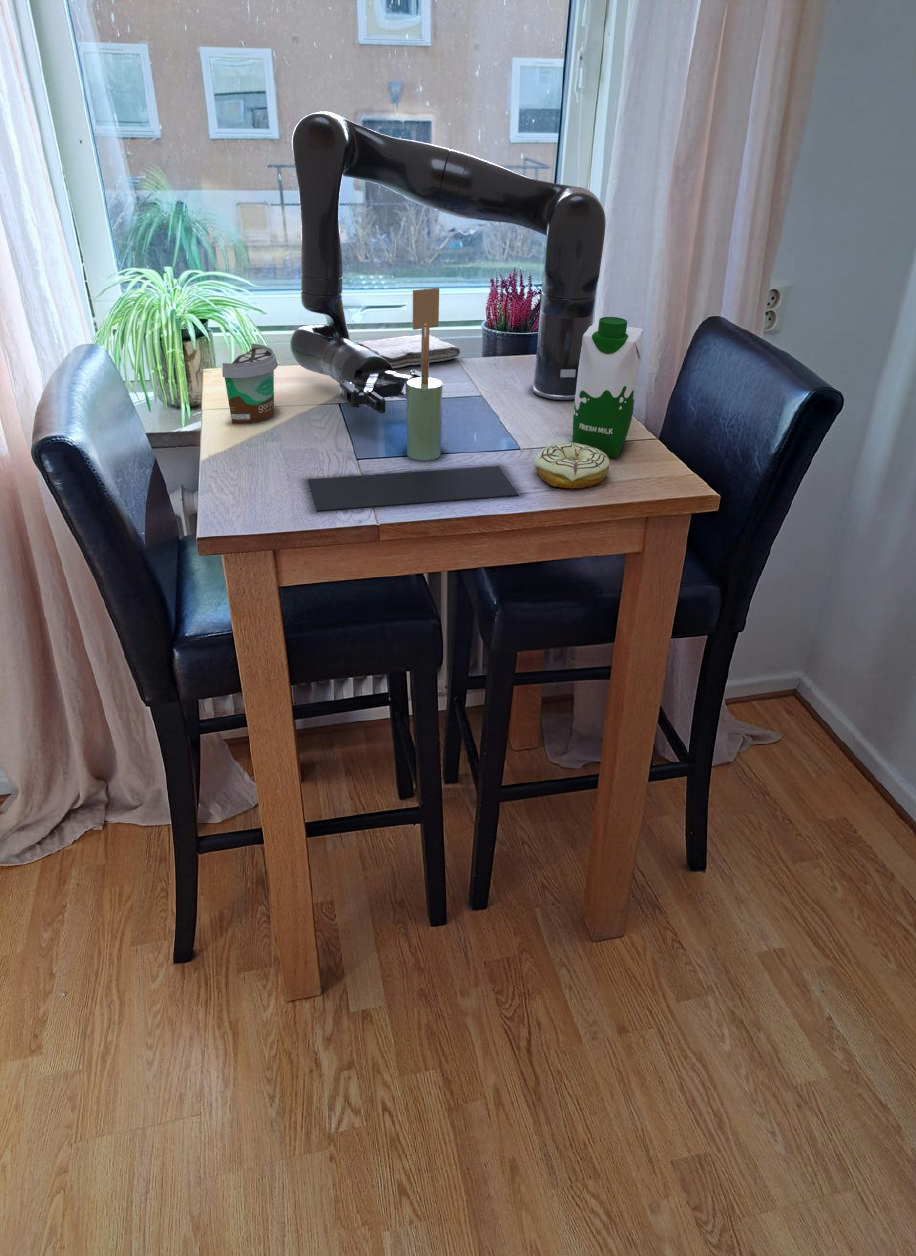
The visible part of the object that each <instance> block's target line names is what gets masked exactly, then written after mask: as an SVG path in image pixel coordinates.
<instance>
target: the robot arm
mask: <svg viewBox="0 0 916 1256" xmlns="http://www.w3.org/2000/svg"><path fill="white" fill-rule="evenodd" d="M291 148H292V155H293V162H294V167H295V168H294V169H295V175H296V181H297V187H298V198H299V205H300V206H299V207H300V224H301V226H300V227H301V229H300V230H301V231H300V233H301V242H300V243H301V246H300V247H301V248H300V249H301V253H300V255H301V256H300V301H301V305H302V307H303V308H304V309H305V310H306V311H308V312H310V313H315V314H319V315H324V317H325V319H326V324H313V325H310V324H309V325H302V326H300V327H298V328H296V329H295V330H294V332H293V333H292V335H291V337H290V341H289V343H290V344H289V346H290V347H289V348H290V352H291V356H292V357H293V359H294V361H295V362H296V364H298V365H299V366H300V367H301V368H303V369H305V370H308V371H311V372H313V373H317V374H320V375H324V376H329V377H330V378H331V379H333V380H334V381H336V382H337V383H338V384H339V397H340V399H342V400H343V401H345V403H347V404H348V405H349V406H350V407H351V408H355V409H356V408H359V407H360V405H363V407H365V408H371V409H372V410H373V411H375V412H377V413H379V414H385V413H386V411H387V409H386V399H385V398H388V399H389V398H390V399H394V398H398V399H403V400H404V399H405V400H407V381H408V380H410V379H413V378H418V377H421V371H419V370H417V369H411V370H409V374H402V373H398V372H397V371H395V370H394V368H392V366H391V365H390V363H389V362H388V361H387V360H386V359H384V358H383V357H381V356H379V355H378V354H376V353H374V352H372V351H371V350H369V349H367V348H366V347H363V346H360V345H358V344H357V343H356V342H354V341H353V340H351V336H350V332H349V329H348V324H347V321H346V316H345V310H344V309H345V308H344V304H343V281H344V277H343V275H344V263H343V250H342V242H341V232H340V231H341V230H340V195H341V188H342V181H343V178H349V179H353V180H359V181H363V182H368V183H372V184H376V185H379V186H382V187H384V188H386V189H388V190H390V191H392V192H394V193H396V194H397V195H399V196H401V197H403V198H406V199H407V200H410V201H411V202H413V203H416V204H418V205H420V206H423V207H425V208H428V209H430V210H433V211H437V212H439V213H443V214H446V215H450V216H453V217H457V218H461V219H467V220H473V221H480V222H481V221H482V222H495V223H506V224H513V225H517V226H520V227H524V228H526V229H529V230H532V231H534V232H537V233H539V234H541V235H544V236H546V243H545V244H546V245H545V257H544V267H543V274H542V283H541V296H540V307H539V317H538V318H539V320H538V332H537V343H536V354H535V365H534V366H535V367H534V378H533V384H532V392H533V393H534V394H535V395H537V396H539V397H541V398H545V399H549V400H554V401H571V400H572V401H573V400H575V395H576V386H577V377H578V368H579V361H580V354H581V348H582V339H583V335H584V334H585V332H586V331H587V330H588V328H589V327H590V326H592V325H593V324H594V322H593V321H594V312H595V303H596V295H597V288H598V283H599V279H600V275H601V268H602V267H601V266H602V259H603V252H604V243H605V237H606V220H607V219H606V213H605V209H604V207H603V205H602V203H601V201H600V199H599V198H598V197H597V195H595V194H594V193H593V192H592V191H591V190H590V189H588V188H585V187H581V186H573V185H567V184H561V183H555V182H549V181H546V180H540V179H535V178H531V177H527V176H525V175H522V174H520V173H517V172H514V171H513V170H510V169H508V168H505V167H503V166H501V165H498V164H496V163H493V162H490V161H488V160H486V159H482V158H479V157H477V156H474V155H471V154H468V153H465V152H461V151H458V150H455V149H450V148H448V147H445V146H444V147H443V146H439V145H435V144H432V143H426V142H423V141H417V140H411V139H405V138H398V137H395V136H394V137H393V136H390V135H386V134H383V133H380V132H378V131H375V130H372V129H370V128H368V127H365V126H364V125H361V124H358V123H356V122H353V121H351V120H349V119H347V118H345V117H342V116H340V115H339V114H337V113H334V112H330V111H318V112H314V113H310V114H308V115H306V116H303V118H301V120H299V122H298V123H297V124H296V126H295V128H294V130H293V133H292V137H291ZM429 378H431V377H430V376H429ZM404 387H405V392H404V391H403V390H404Z"/></svg>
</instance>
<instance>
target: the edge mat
mask: <svg viewBox="0 0 916 1256" xmlns="http://www.w3.org/2000/svg"><path fill="white" fill-rule="evenodd" d="M307 481H308V483H309V484H308V485H309V487H310V491H311V494H312V499H313V502H314V506H315V510H316V512H329V511H341V510H342V511H343V510H353V509H354V510H355V509H367V508H380V507H391V506H405V505H417V504H430V503H431V504H432V503H442V502H443V503H444V502H454V501H457V502H458V501H470V500H480V499H481V500H482V499H483V500H484V499H493V498H494V499H496V498H507V497H519V495H520V494H519V493H518V491H517V489H516V488H515V487H514V486H513V484H512V483H511V481H510V480H509V479H508V477H507V476H506V475H505V473H504V472H503V470H502V469H501V468H500V466H499V465H495V466H494V465H493V466H481V467H480V466H479V467H469V468H468V467H464V468H453V469H452V468H451V469H438V470H437V469H436V470H435V469H434V470H423V471H409V472H408V471H407V472H393V473H380V474H366V475H353V476H352V475H350V476H337V477H323V478H310V479H309V478H308V480H307Z"/></svg>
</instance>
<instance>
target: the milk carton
mask: <svg viewBox="0 0 916 1256" xmlns="http://www.w3.org/2000/svg"><path fill="white" fill-rule="evenodd" d="M643 336H644V328H639V327H632V326H628V320H627V319H625V318H622V317H619V316H618V317H617V316H604V317H600V318H599V319H598V322H593V323H592V326H590V327H589V328H588V330H587V331H586V332H585V334H584V335H583V339H582V348H581V354H580V361H579V368H578V377H577V386H576V395H575V399H574V406H573V416H572V443H579V444H584V445H588V446H590V447H593V448H597V449H599V450H600V451H602V452H603V453H605V454H606V455H607V457H608V458H609V459H615V460H616V459H617V458H618V457H619V454H620V453H621V451H622V449H623V447H624V445H625V443H626V440H627V436H628V433H629V430H630V427H631V423H632V420H633V416H634V415H633V414H634V409H635V402H636V395H637V391H638V390H637V389H638V383H639V375H640V370H641V368H640V367H641V359H642V358H643Z"/></svg>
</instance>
